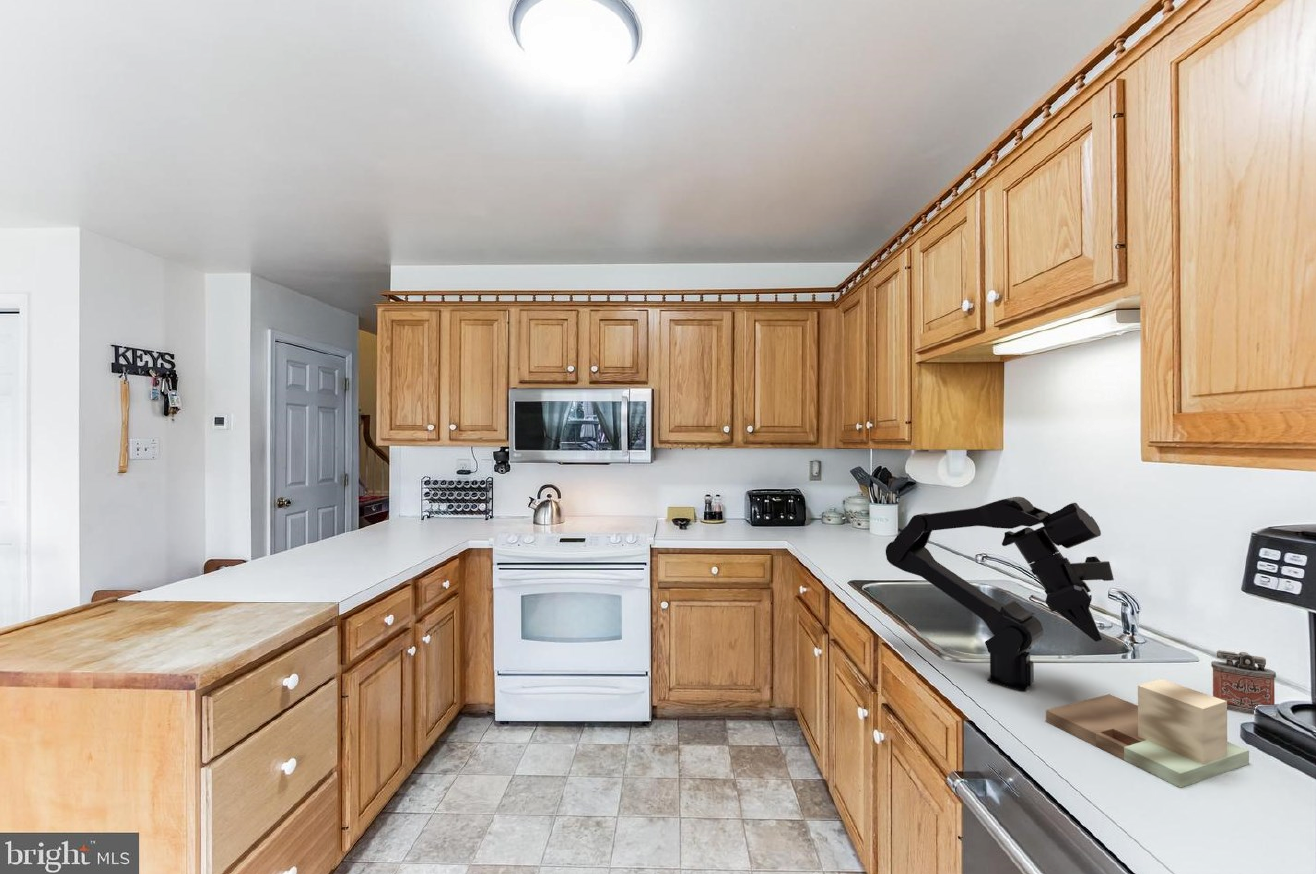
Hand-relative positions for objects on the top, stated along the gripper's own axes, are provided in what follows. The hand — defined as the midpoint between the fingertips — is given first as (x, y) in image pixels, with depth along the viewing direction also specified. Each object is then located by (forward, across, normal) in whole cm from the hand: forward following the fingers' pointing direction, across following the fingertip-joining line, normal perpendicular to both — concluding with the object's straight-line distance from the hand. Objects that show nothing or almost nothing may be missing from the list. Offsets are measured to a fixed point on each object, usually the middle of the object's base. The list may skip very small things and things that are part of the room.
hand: (1099, 640), depth 99 cm
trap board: (+14, -6, +3) cm, 16 cm away
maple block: (+15, -10, -2) cm, 18 cm away
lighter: (+19, +17, -12) cm, 28 cm away
